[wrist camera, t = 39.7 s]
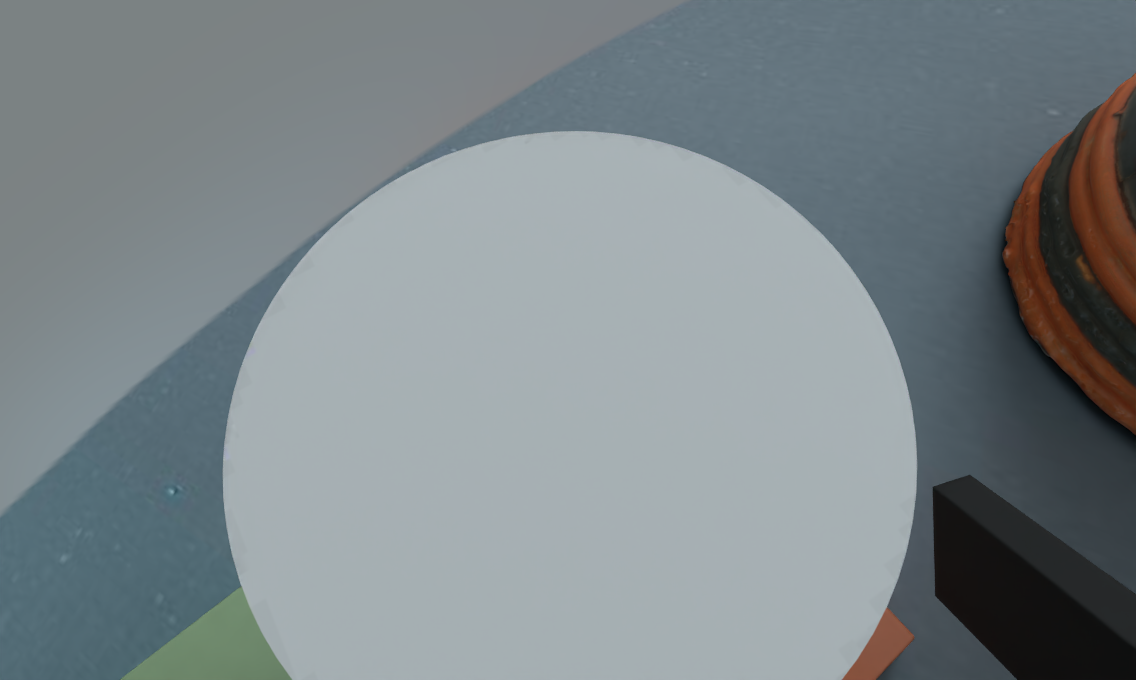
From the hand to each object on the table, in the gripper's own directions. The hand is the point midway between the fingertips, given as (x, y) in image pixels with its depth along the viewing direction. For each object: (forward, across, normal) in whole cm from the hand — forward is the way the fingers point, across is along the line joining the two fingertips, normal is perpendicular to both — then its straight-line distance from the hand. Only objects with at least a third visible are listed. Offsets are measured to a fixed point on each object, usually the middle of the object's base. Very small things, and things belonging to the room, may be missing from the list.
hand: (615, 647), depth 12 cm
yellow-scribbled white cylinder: (+7, 0, -2) cm, 7 cm away
